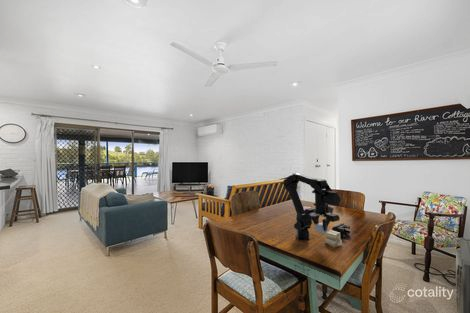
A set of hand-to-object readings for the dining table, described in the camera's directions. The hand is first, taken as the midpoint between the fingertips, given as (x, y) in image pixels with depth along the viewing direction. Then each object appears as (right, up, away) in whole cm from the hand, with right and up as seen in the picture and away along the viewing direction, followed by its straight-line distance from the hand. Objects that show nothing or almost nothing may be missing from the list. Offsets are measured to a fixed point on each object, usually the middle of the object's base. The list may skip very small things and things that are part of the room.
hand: (321, 229), depth 111 cm
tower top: (+9, -7, +4) cm, 12 cm away
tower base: (+9, -10, +4) cm, 14 cm away
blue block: (0, -1, 0) cm, 1 cm away
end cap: (+20, -10, +16) cm, 28 cm away
